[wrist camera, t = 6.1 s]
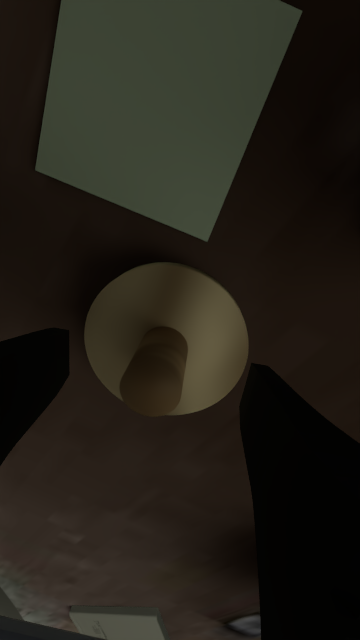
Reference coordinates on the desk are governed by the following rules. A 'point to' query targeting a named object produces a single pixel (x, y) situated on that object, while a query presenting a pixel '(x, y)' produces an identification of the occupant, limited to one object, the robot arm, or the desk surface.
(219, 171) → the mat
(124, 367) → the lid
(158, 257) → the desk surface
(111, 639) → the external hard drive
